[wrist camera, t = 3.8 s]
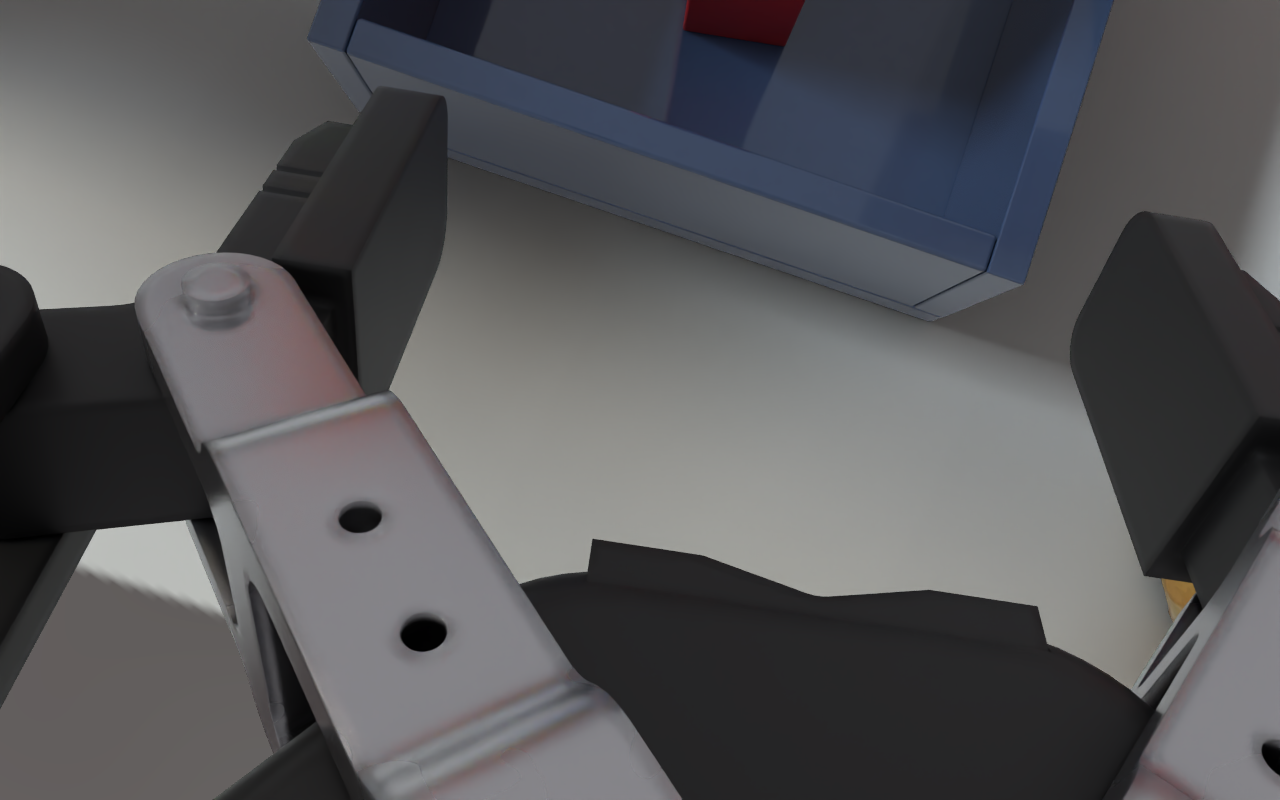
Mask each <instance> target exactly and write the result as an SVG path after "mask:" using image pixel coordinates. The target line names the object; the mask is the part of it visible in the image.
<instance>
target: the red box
mask: <svg viewBox="0 0 1280 800" xmlns="http://www.w3.org/2000/svg"><path fill="white" fill-rule="evenodd" d="M804 2H805V0H687V4H686V10H685V17H684V23H683V29H684V30H685V31H691V32H697V33H704V34H710V35H716V36H722V37H728V38H734V39H741V40H747V41H753V42H759V43H765V44H771V45H777V46H785V45H786V43H787V41H788V38H789V36H790V34H791V32H792V29H793V27H794V25H795V23H796V20H797V18H798V16H799V13H800V11H801V9H802V7H803V4H804Z"/></svg>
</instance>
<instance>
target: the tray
mask: <svg viewBox="0 0 1280 800" xmlns="http://www.w3.org/2000/svg"><path fill="white" fill-rule="evenodd" d="M1113 2H1114V0H805V2H804V4H803V7H802V9H801V11H800V13H799V16H798V18H797V20H796V23H795V25H794V27H793V29H792V32H791V34H790V36H789V38H788V41H787V43H786V45H785V46H777V45H771V44H765V43H759V42H753V41H747V40H741V39H734V38H728V37H722V36H716V35H710V34H704V33H697V32H691V31H685V30H684V29H683V23H684V17H685V10H686V4H687V0H321V1H320V3H319V6H318V9H317V12H316V14H315V17H314V20H313V23H312V25H311V28H310V31H309V33H308V36H307V40H308V42H309V43H310V44H311V46H312V47H313V49H314V50H315V51H316V53H317V54H318V56H319V57H320V58H321V60H322V61H323V63H324V64H325V65H326V67H327V68H328V70H329V71H330V72H331V74H332V75H333V77H334V78H335V79H336V81H337V82H338V84H339V85H340V86H341V88H342V89H343V91H344V92H345V93H346V95H347V96H348V98H349V99H350V100H351V102H352V103H353V105H354V106H355V107H356V109H357V110H358V112H359V113H361V112H362V110H363V108H364V107H365V105H366V104H367V102H368V100H369V99H370V97H371V95H372V94H373V92H374V91H375V89H376V88H377V87H378V86H385V87H392V88H398V89H404V90H410V91H416V92H422V93H429V94H435V95H441V96H444V97H445V99H446V103H447V111H448V150H447V157H448V158H451V159H454V160H457V161H460V162H463V163H465V164H468V165H471V166H474V167H477V168H480V169H483V170H486V171H489V172H492V173H495V174H498V175H501V176H504V177H507V178H509V179H512V180H515V181H518V182H521V183H524V184H527V185H530V186H533V187H536V188H539V189H542V190H545V191H548V192H550V193H553V194H556V195H559V196H562V197H565V198H568V199H571V200H574V201H577V202H580V203H583V204H586V205H589V206H592V207H594V208H597V209H600V210H603V211H606V212H609V213H612V214H615V215H618V216H621V217H624V218H627V219H630V220H633V221H635V222H638V223H641V224H644V225H647V226H650V227H653V228H656V229H659V230H662V231H665V232H668V233H671V234H674V235H677V236H679V237H682V238H685V239H688V240H691V241H694V242H697V243H700V244H703V245H706V246H709V247H712V248H715V249H718V250H721V251H723V252H726V253H729V254H732V255H735V256H738V257H741V258H744V259H747V260H750V261H753V262H756V263H759V264H762V265H764V266H767V267H770V268H773V269H776V270H779V271H782V272H785V273H788V274H791V275H794V276H797V277H800V278H803V279H806V280H808V281H811V282H814V283H817V284H820V285H823V286H826V287H829V288H832V289H835V290H838V291H841V292H844V293H847V294H850V295H852V296H855V297H858V298H861V299H864V300H867V301H870V302H873V303H876V304H879V305H882V306H885V307H888V308H891V309H893V310H896V311H899V312H902V313H905V314H908V315H911V316H914V317H917V318H920V319H923V320H926V321H929V322H931V321H934V320H937V319H939V318H942V317H946V316H948V315H951V314H953V313H956V312H958V311H960V310H963V309H965V308H968V307H970V306H973V305H975V304H978V303H980V302H982V301H985V300H987V299H990V298H992V297H995V296H997V295H1000V294H1002V293H1005V292H1007V291H1009V290H1012V289H1014V288H1017V287H1019V286H1022V285H1024V283H1025V281H1026V277H1027V274H1028V271H1029V268H1030V265H1031V262H1032V259H1033V255H1034V252H1035V249H1036V246H1037V243H1038V240H1039V236H1040V233H1041V230H1042V227H1043V224H1044V221H1045V217H1046V214H1047V211H1048V208H1049V205H1050V202H1051V198H1052V195H1053V192H1054V189H1055V186H1056V183H1057V179H1058V176H1059V173H1060V170H1061V167H1062V164H1063V160H1064V157H1065V154H1066V151H1067V148H1068V145H1069V141H1070V138H1071V135H1072V132H1073V129H1074V126H1075V122H1076V119H1077V116H1078V113H1079V110H1080V107H1081V103H1082V100H1083V97H1084V94H1085V91H1086V88H1087V84H1088V81H1089V78H1090V75H1091V72H1092V69H1093V65H1094V62H1095V59H1096V56H1097V53H1098V50H1099V46H1100V43H1101V40H1102V37H1103V34H1104V31H1105V27H1106V24H1107V21H1108V18H1109V15H1110V12H1111V8H1112V5H1113Z"/></svg>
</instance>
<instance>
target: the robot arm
mask: <svg viewBox="0 0 1280 800" xmlns="http://www.w3.org/2000/svg"><path fill="white" fill-rule="evenodd" d="M447 150H448V111H447V103H446V99H445V97H444V96H441V95H435V94H429V93H422V92H416V91H410V90H404V89H398V88H392V87H385V86H378V87H377V88H376V89H375V91H374V92H373V94H372V95H371V97H370V99H369V100H368V102H367V104H366V105H365V107H364V108H363V110H362V112H361V113H360V115H359V116H358V118H357V120H356V121H355V123H354V125H349V124H342V123H336V122H330V121H327V122H325V123H324V124H322V125H320V126H318V127H317V128H315V129H313V130H311V131H309V132H308V133H306V134H304V135H302V136H301V137H299V138H297V139H295V140H294V141H293V143H292V144H291V146H290V147H289V148H288V150H287V151H286V153H285V154H284V156H283V157H282V159H281V160H280V161H279V163H278V164H277V170H273V172H272V173H271V174H270V176H269V177H268V179H267V180H266V182H265V183H264V184H263V190H262V191H259V192H258V193H257V195H256V196H255V197H254V199H253V200H252V202H251V203H250V205H249V206H248V208H247V209H246V210H245V212H244V213H243V215H242V216H241V218H240V219H239V221H238V222H237V223H236V225H235V226H234V228H233V229H232V231H231V232H230V234H229V235H228V236H227V238H226V239H225V241H224V242H223V244H222V245H221V247H220V248H219V249H218V251H217V252H216V253H209V254H202V255H196V256H192V257H188V258H184V259H181V260H179V261H176V262H173V263H171V264H169V265H167V266H165V267H163V268H161V269H159V270H158V271H156V272H155V273H154V274H152V275H151V276H150V277H149V278H148V279H147V280H146V281H144V282H143V284H142V285H141V287H140V288H139V290H138V292H137V294H136V297H135V303H131V304H125V305H115V306H100V307H80V308H61V309H41V310H39V308H38V304H37V301H36V298H35V295H34V292H33V289H32V287H31V285H30V283H29V282H28V281H27V280H26V278H24V277H23V276H22V275H20V274H19V273H18V272H16V271H14V270H12V269H10V268H8V267H4V266H1V265H0V708H1V706H2V704H3V703H4V701H5V699H6V697H7V695H8V693H9V691H10V690H11V688H12V686H13V684H14V682H15V680H16V678H17V676H18V675H19V673H20V671H21V669H22V667H23V665H24V664H25V662H26V660H27V658H28V656H29V654H30V652H31V650H32V649H33V647H34V645H35V643H36V641H37V639H38V637H39V636H40V634H41V632H42V630H43V628H44V626H45V624H46V623H47V621H48V619H49V617H50V615H51V613H52V611H53V609H54V608H55V606H56V604H57V602H58V600H59V598H60V596H61V595H62V593H63V591H64V589H65V587H66V585H67V583H68V582H69V580H70V578H71V576H72V574H73V572H74V570H75V569H76V567H77V565H78V563H79V561H80V559H81V557H82V556H83V554H84V552H85V550H86V548H87V546H88V544H89V542H90V541H91V539H92V537H93V535H94V533H95V531H96V530H97V529H107V528H116V527H126V526H135V525H145V524H154V523H164V522H173V521H183V520H186V524H187V527H188V529H189V531H190V534H191V536H192V539H193V541H194V544H195V546H196V549H197V551H198V553H199V556H200V558H201V561H202V563H203V566H204V568H205V571H206V573H207V575H208V578H209V580H210V583H211V585H212V588H213V590H214V593H215V595H216V597H217V600H218V602H219V605H220V607H221V610H222V612H223V615H224V617H225V619H226V622H227V624H228V627H229V629H230V632H231V634H232V637H233V639H234V641H235V644H236V646H237V649H238V651H239V654H240V657H241V659H242V662H243V665H244V668H245V671H246V674H247V677H248V680H249V683H250V687H251V690H252V694H253V697H254V700H255V703H256V707H257V710H258V713H259V716H260V718H261V721H262V724H263V727H264V730H265V733H266V735H267V738H268V741H269V743H270V746H271V749H272V751H273V755H272V756H270V757H269V758H268V759H266V760H265V761H264V762H262V763H261V764H260V765H258V766H257V767H256V768H254V769H253V770H252V771H251V772H249V773H248V774H246V775H245V776H244V777H242V778H241V779H240V780H238V781H237V782H236V783H235V784H233V785H232V786H231V787H230V788H228V789H227V790H225V791H224V792H223V793H221V794H220V795H219V796H217V797H216V798H215V799H213V800H1280V302H1279V300H1278V299H1277V298H1276V297H1274V296H1273V295H1272V294H1271V293H1270V292H1269V291H1267V290H1266V289H1265V288H1264V287H1263V286H1262V285H1260V284H1259V283H1258V282H1257V281H1256V280H1255V279H1253V278H1252V277H1251V276H1250V275H1249V274H1248V273H1246V272H1245V271H1244V270H1240V268H1239V266H1238V265H1237V263H1236V262H1235V260H1234V258H1233V257H1232V255H1231V253H1230V252H1229V250H1228V248H1227V247H1226V245H1225V243H1224V242H1223V240H1222V238H1221V237H1220V235H1219V233H1218V232H1217V230H1216V229H1215V227H1214V226H1213V225H1212V224H1211V223H1210V222H1207V221H1202V220H1195V219H1189V218H1183V217H1177V216H1171V215H1165V214H1158V213H1152V212H1146V211H1144V212H1140V213H1138V214H1136V215H1135V216H1134V217H1133V218H1132V219H1131V220H1130V221H1129V222H1128V224H1127V225H1126V226H1125V228H1124V230H1123V231H1122V233H1121V235H1120V237H1119V239H1118V241H1117V243H1116V245H1115V247H1114V249H1113V251H1112V253H1111V255H1110V256H1109V258H1108V260H1107V262H1106V264H1105V266H1104V268H1103V270H1102V272H1101V274H1100V276H1099V278H1098V280H1097V281H1096V283H1095V285H1094V287H1093V289H1092V291H1091V293H1090V295H1089V297H1088V299H1087V301H1086V303H1085V305H1084V306H1083V308H1082V310H1081V312H1080V314H1079V316H1078V318H1077V321H1076V323H1075V326H1074V330H1073V333H1072V338H1071V344H1070V364H1071V368H1072V372H1073V375H1074V378H1075V380H1076V383H1077V386H1078V389H1079V392H1080V395H1081V397H1082V400H1083V403H1084V406H1085V409H1086V412H1087V415H1088V417H1089V420H1090V423H1091V426H1092V429H1093V432H1094V435H1095V437H1096V440H1097V443H1098V446H1099V449H1100V452H1101V455H1102V457H1103V460H1104V463H1105V466H1106V469H1107V472H1108V474H1109V477H1110V480H1111V483H1112V486H1113V489H1114V492H1115V494H1116V497H1117V500H1118V503H1119V506H1120V509H1121V512H1122V514H1123V517H1124V520H1125V523H1126V526H1127V529H1128V532H1129V534H1130V537H1131V540H1132V543H1133V546H1134V549H1135V551H1136V554H1137V557H1138V560H1139V563H1140V566H1141V569H1142V571H1143V574H1144V576H1149V577H1155V578H1162V579H1168V580H1175V581H1181V582H1188V583H1193V586H1194V588H1195V591H1196V593H1195V594H1194V595H1193V596H1192V598H1191V599H1190V600H1189V602H1188V603H1187V604H1186V605H1185V607H1184V608H1183V609H1182V610H1181V612H1180V613H1179V614H1178V616H1177V618H1176V619H1175V621H1174V622H1173V624H1172V625H1171V627H1170V629H1169V630H1168V632H1167V633H1166V635H1165V637H1164V638H1163V640H1162V641H1161V643H1160V645H1159V646H1158V648H1157V649H1156V651H1155V652H1154V654H1153V656H1152V657H1151V659H1150V660H1149V662H1148V664H1147V665H1146V667H1145V668H1144V670H1143V672H1142V673H1141V675H1140V676H1139V678H1138V679H1137V681H1136V683H1135V684H1134V686H1133V687H1132V689H1131V690H1130V689H1128V688H1127V687H1125V686H1124V685H1123V684H1121V683H1120V682H1118V681H1117V680H1115V679H1114V678H1113V677H1111V676H1110V675H1108V674H1107V673H1105V672H1103V671H1101V670H1100V669H1098V668H1096V667H1095V666H1093V665H1091V664H1089V663H1088V662H1086V661H1084V660H1082V659H1080V658H1078V657H1076V656H1074V655H1072V654H1070V653H1068V652H1066V651H1063V650H1061V649H1059V648H1057V647H1054V646H1052V645H1049V644H1047V642H1046V638H1045V634H1044V630H1043V626H1042V622H1041V618H1040V614H1039V610H1038V606H1031V605H1025V604H1018V603H1012V602H1005V601H998V600H992V599H985V598H979V597H972V596H966V595H959V594H952V593H946V592H939V591H933V590H922V591H907V592H892V593H877V594H863V595H848V596H833V597H821V596H814V595H810V594H807V593H804V592H801V591H798V590H796V589H793V588H790V587H787V586H785V585H782V584H779V583H777V582H774V581H771V580H768V579H766V578H763V577H760V576H757V575H755V574H752V573H749V572H746V571H744V570H741V569H738V568H735V567H733V566H730V565H727V564H725V563H722V562H719V561H716V560H714V559H711V558H708V557H705V556H702V555H696V554H689V553H683V552H676V551H669V550H663V549H656V548H650V547H643V546H636V545H630V544H623V543H617V542H610V541H604V540H597V539H593V540H592V546H591V553H590V559H589V566H588V572H579V573H567V574H561V575H555V576H549V577H544V578H539V579H535V580H532V581H529V582H525V583H522V584H519V583H518V582H517V580H516V579H515V577H514V576H513V574H512V573H511V571H510V569H509V568H508V566H507V565H506V563H505V562H504V560H503V559H502V557H501V556H500V554H499V552H498V551H497V549H496V548H495V546H494V545H493V543H492V542H491V540H490V538H489V537H488V535H487V534H486V532H485V531H484V529H483V528H482V526H481V524H480V523H479V521H478V520H477V518H476V517H475V515H474V514H473V512H472V511H471V509H470V507H469V506H468V504H467V503H466V501H465V500H464V498H463V497H462V495H461V493H460V492H459V490H458V489H457V487H456V486H455V484H454V483H453V481H452V480H451V478H450V476H449V475H448V473H447V472H446V470H445V469H444V467H443V466H442V464H441V462H440V461H439V459H438V458H437V456H436V455H435V453H434V452H433V450H432V449H431V447H430V445H429V444H428V442H427V441H426V439H425V438H424V436H423V435H422V433H421V431H420V430H419V428H418V427H417V425H416V424H415V422H414V421H413V419H412V417H411V416H410V414H409V413H408V411H407V410H406V408H405V407H404V405H403V404H402V402H401V401H400V400H399V398H398V397H397V396H396V395H395V394H394V393H392V392H391V391H389V388H390V385H391V383H392V380H393V378H394V375H395V373H396V370H397V368H398V365H399V363H400V360H401V358H402V355H403V353H404V350H405V348H406V346H407V343H408V341H409V338H410V336H411V333H412V331H413V328H414V326H415V323H416V321H417V318H418V316H419V313H420V311H421V308H422V306H423V303H424V301H425V298H426V296H427V293H428V291H429V288H430V286H431V283H432V281H433V278H434V276H435V273H436V271H437V268H438V265H439V262H440V259H441V255H442V250H443V245H444V239H445V232H446V220H447Z"/></svg>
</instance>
